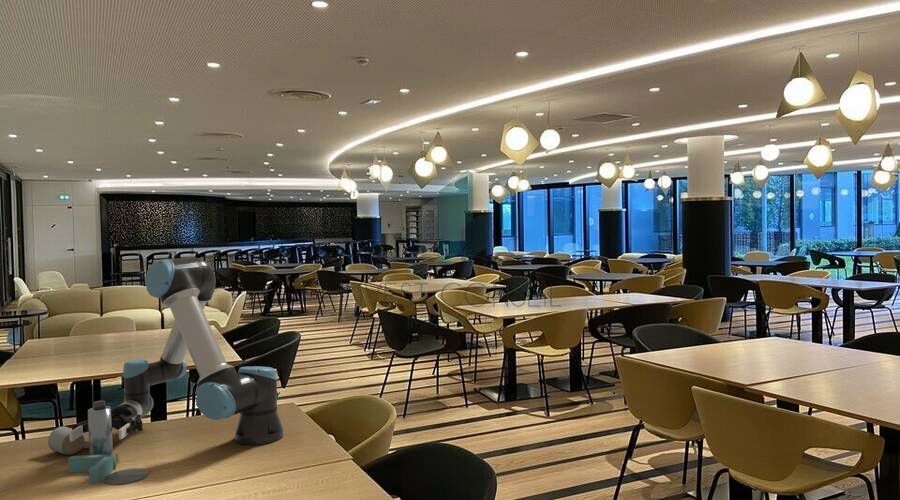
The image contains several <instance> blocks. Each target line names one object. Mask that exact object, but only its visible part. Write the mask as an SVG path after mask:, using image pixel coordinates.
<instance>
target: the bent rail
mask: <svg viewBox="0 0 900 500" xmlns="http://www.w3.org/2000/svg"><path fill="white" fill-rule="evenodd" d="M116 461H117V459H116V453H113V454H105V455H90V454H89V455H87V454H86V455H70V456H69V457H68V458H67V464H68V467H67V468H68V469H67V470H68V473H86V472H88V477H89V478H88V480H89V482H88V483H89V484H88V485H98V484H99V483H100V482H101V481H102V480H104V478H105V477H106V476H107V475H109V474H111V473H113V471H115V470H116V468H117V462H116Z"/></svg>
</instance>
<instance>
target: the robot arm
mask: <svg viewBox="0 0 900 500" xmlns="http://www.w3.org/2000/svg"><path fill="white" fill-rule="evenodd" d="M145 275H146V276H145V288H146V291H147V292H148V294H149V295H150V296H152V297H153V298H156V299H159V300H160V302H161V304H162V306H163V307H165V308H168V309H170V311H171V313H172V316H173V318H174V321H173V324H172V327H171V329H170V332H169V334H168V337H167V340H166V343H165V345H164V349H163V350H162V353H161V356H160V358H159V360H158V361H153V362H149V361H148V360H147V359H144V358H143V359H142V358H137V359H130V360H127V361H126V362H124V364H123V372H122V373H123V374H122V376H123V387H124V389H123V391H124V392H123V393H124V395H123V396H124V397H123V398H124V399H123V400H124V401H123V402H122V403H121V404H118V406H116V407H115V408H113V409H111V419H112V429H115V430H118V440H123V438H125V437H126V436H128V435H129V434H131V433H134V432H136V431H137V430H138V432H140V431H143V430H144V429H143V420H142V418H144V417H146V416H147V415H148V414H149V413H150V412H151V410H153V407H154V399H153V396H152V395H151V394H150V386H154V385H157V384H163V383H166V382H170V381H175V380H177V379H180V378H183V377H184V376H185V375H186V374H187V371H188V369H187V367H188V365H187V362H186V360H185V358H186V356H187V353H188V352H189V354H190V357H191V359H192V362H193V363H194V367H195V368H196V370H197V373H198V375H199V378H198V380H197V382H196V384H197V387H198V388H197V389H196V391H195V396H196V397H195V404H196V406H197V408H198V410H199V411H200V413H201V414H202V416H204V417H205V418H208V419H210V420H214V421H218V420H222V419H229V418H230V417H232V416H235V415H238V414H239V419H238V422H237V425H236V428H235V432H234V441H235V442H236V443H238V444H240V445H249V446H250V445H252V446H255V445H265V444H270V443H273V442H277V441H278V440H281V439H282V438H283V437H284V426H283V425H282V421H281V418H280V416H279V413H278V385H277V384H278V383H277V382H278V378H277V371H276V370H275V368H273V367H271V366H262V365H261V366H260V365H259V366H254V365H253V366H249V365H248V366H241V367H239V368H238V372H237V369H236V368H235V366H234V365H231V364H228V363H227V361H226V358H225V357H224V354H223V351H222V349H221V348H220V345H219V343H218V340H217V338H216V336H215V334H214V331H213V329H212V327H211V324H210V322H209V320H208V318H207V316H206V314H205V312H204V310H205V307H206V305H207V302H209V301H211V300H212V298H213V295H214V292H215V288H216V282H217V281H216V274H215V271H214V269H213V267H212V266H211V265H210V264H209V263H208V262H207V261H205V260H204V259H202V258H198V257H188V258H186V257H185V258H164V259H160V260H156V261H153V262H152V264H150V266H149V267H148V269H147V271H146V274H145ZM71 429H72V431H71V432H69V435H70V442H71V441H74V440H75V439H77V438H78V437H80V436H82V435H83V436H84V434H85V433H89V428H88V419H87V420H84V421H81V422H77V423H75V424H72V425H71Z"/></svg>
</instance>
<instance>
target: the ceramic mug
mask: <svg viewBox="0 0 900 500" xmlns="http://www.w3.org/2000/svg"><path fill="white" fill-rule="evenodd" d="M71 431H72V427H69V426H59V427H57V428H55V429H53V430H52V431H51V432H50V434H49V436H48V439H47V445H48V448H49V449H50V450H51V451H53V452H55V453H58V454H63V455H67V456H73V455H75V454H77V453H79V452H81V450H82V448H83V449H89V441H86V440H85V436H84V434H83V435H82V436H80V437H78V438H77V439H75V440H74V441H71V442H70V435H69V432H71Z"/></svg>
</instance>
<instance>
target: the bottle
mask: <svg viewBox="0 0 900 500" xmlns="http://www.w3.org/2000/svg"><path fill="white" fill-rule="evenodd" d="M106 404H107V403H106V400H95V401H93V402H92V406H93V407H91V408H89V409H87V420H88V428H89V432H88V442H89V448H88V449H89V450H88V451H89V455H105V454H114V453H113V452H114V451H113V449H114V448H113V447H114V446H113V445H114V444H113V428H112V419H111V411H112V407H111V406H110V405H106Z"/></svg>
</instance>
